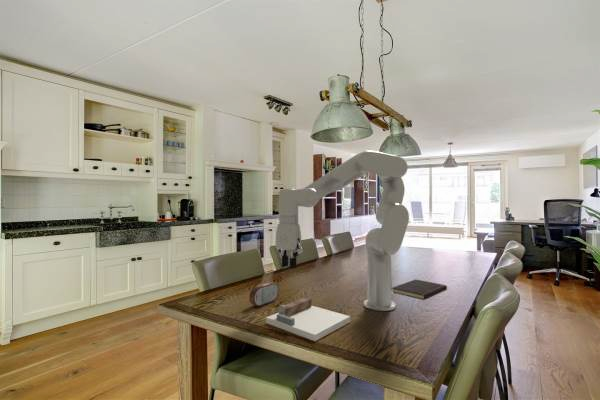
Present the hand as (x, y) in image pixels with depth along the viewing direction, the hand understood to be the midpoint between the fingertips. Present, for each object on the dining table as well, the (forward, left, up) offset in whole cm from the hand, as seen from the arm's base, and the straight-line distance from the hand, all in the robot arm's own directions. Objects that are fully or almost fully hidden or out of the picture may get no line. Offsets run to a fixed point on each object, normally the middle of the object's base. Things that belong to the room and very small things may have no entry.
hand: (289, 266), depth 123 cm
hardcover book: (-61, +28, -18) cm, 70 cm away
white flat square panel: (+4, +13, -17) cm, 22 cm away
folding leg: (+3, +6, -15) cm, 17 cm away
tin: (0, -14, -18) cm, 22 cm away
